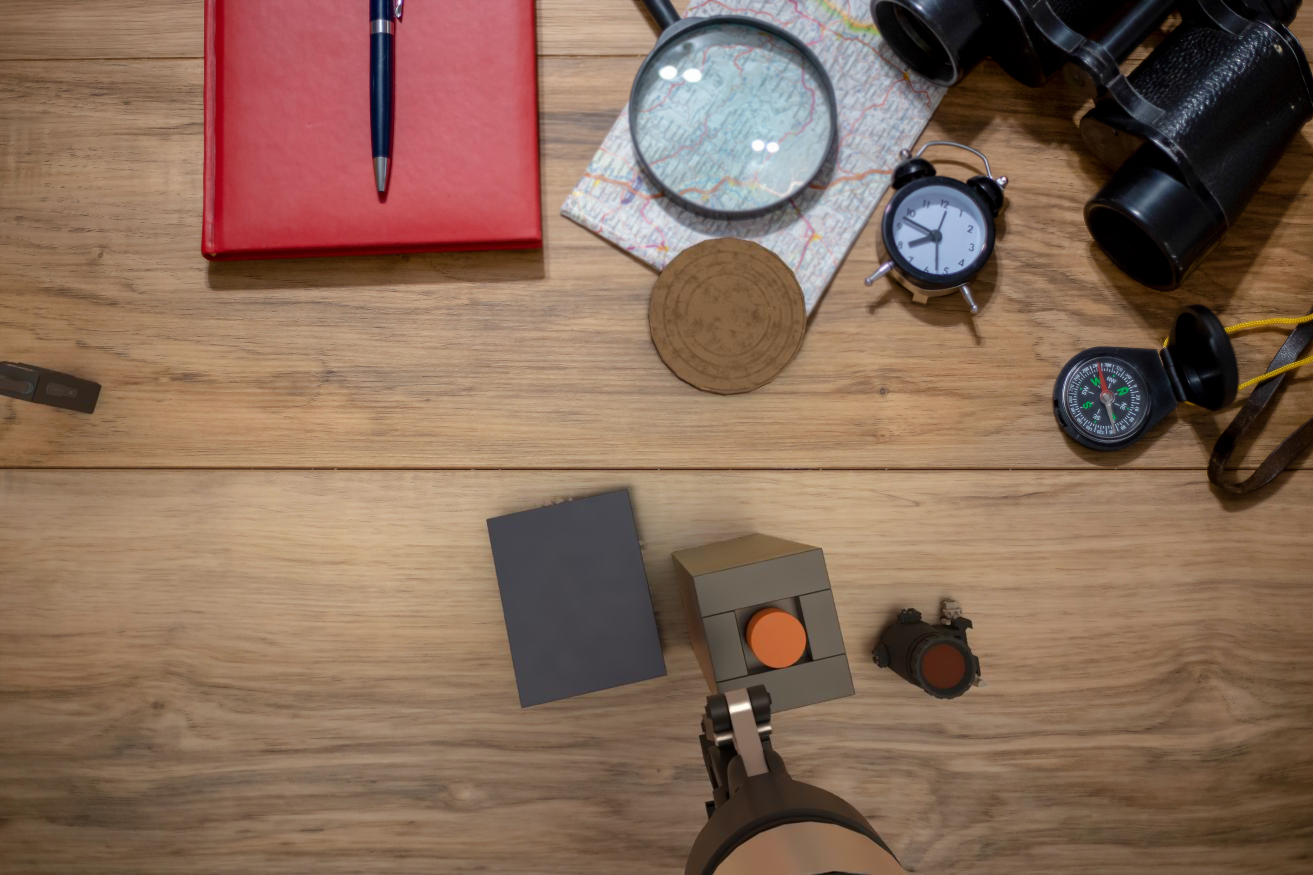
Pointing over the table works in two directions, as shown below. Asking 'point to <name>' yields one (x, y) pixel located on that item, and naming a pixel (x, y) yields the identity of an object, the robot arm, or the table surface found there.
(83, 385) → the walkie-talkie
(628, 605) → the lid
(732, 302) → the brown round disc
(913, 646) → the red dot sight
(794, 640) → the button
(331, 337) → the table surface
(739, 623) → the button post
